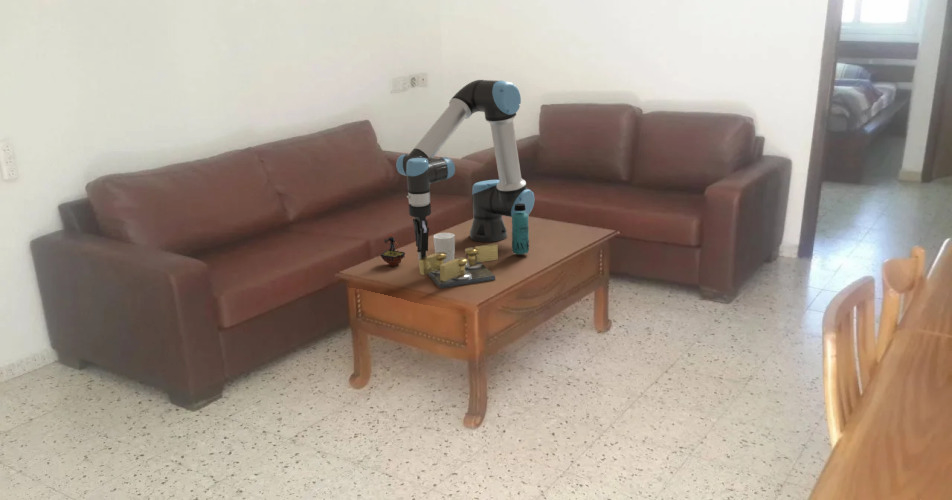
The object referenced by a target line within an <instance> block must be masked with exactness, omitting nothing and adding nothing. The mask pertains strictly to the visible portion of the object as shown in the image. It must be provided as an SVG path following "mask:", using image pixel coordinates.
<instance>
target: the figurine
mask: <svg viewBox="0 0 952 500" xmlns="http://www.w3.org/2000/svg"><path fill="white" fill-rule="evenodd" d="M389 241H390V243H389V249H388V250H384V251H383V252H382V253H381V254H380V257H381V259H382V260H383V261H384V262H385V263H387V264H388V265H389V266H391V267H395V266H397V265H399V264H401V262H402V260H403V259H404V258H405V255H406V252H405V251H399V250H396V248H395V244H396V246H397V247H400V245H399V244H398V243H397V241H396V240H395V237H394V236H393V234H390V236H389V237H388V238H387V239H384V240H383V242H384V245H385V244H386V245H387V243H388V242H389Z"/></svg>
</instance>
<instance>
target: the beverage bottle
mask: <svg viewBox="0 0 952 500" xmlns="http://www.w3.org/2000/svg"><path fill="white" fill-rule="evenodd" d="M514 210H515V211H524V210H526V208H525V204H522V203H519V204H515V208H514ZM511 223H512V224H511V248H512V249H511V251H512V253H513V254H515V255H525V254H528V253H529V251H530V240H529V238H530V236H529V235H530V234H529V215H527V214H526V213H525V212H516V213H514V214H513V215H512V217H511Z"/></svg>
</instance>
